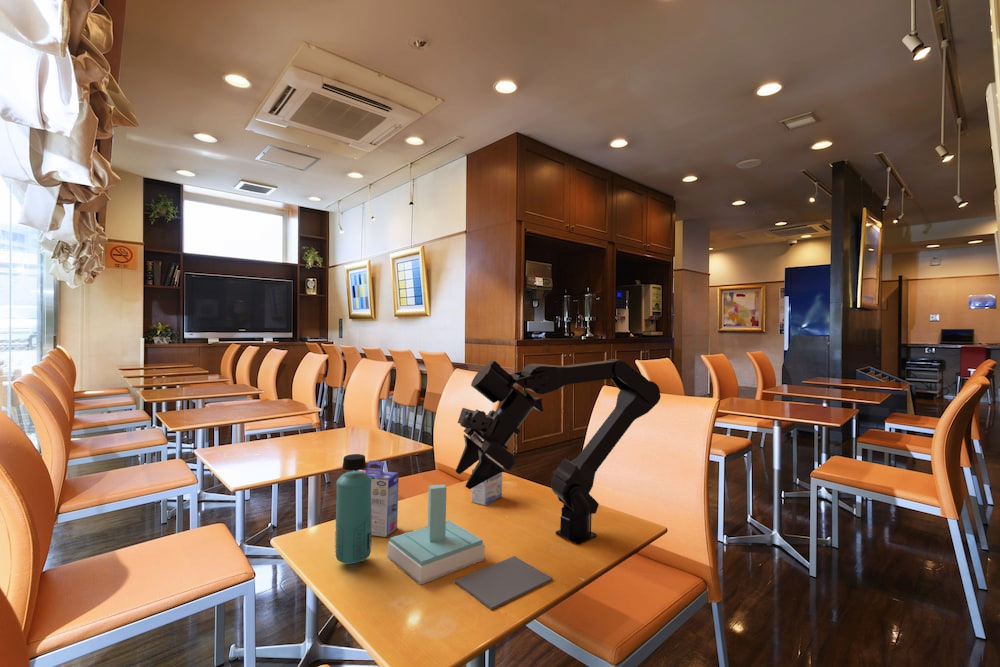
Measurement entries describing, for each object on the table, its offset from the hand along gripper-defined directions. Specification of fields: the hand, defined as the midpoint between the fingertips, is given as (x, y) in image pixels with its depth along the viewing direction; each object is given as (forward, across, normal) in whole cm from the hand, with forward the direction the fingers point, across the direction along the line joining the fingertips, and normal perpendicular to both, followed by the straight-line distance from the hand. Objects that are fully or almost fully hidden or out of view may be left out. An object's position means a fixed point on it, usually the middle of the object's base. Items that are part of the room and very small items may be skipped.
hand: (462, 479), depth 92 cm
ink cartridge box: (+21, -13, -4) cm, 26 cm away
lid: (+12, +2, +2) cm, 12 cm away
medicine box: (+4, -25, +18) cm, 31 cm away
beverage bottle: (+24, 0, -8) cm, 25 cm away
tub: (+14, +2, +4) cm, 15 cm away
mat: (+8, +13, +12) cm, 20 cm away
